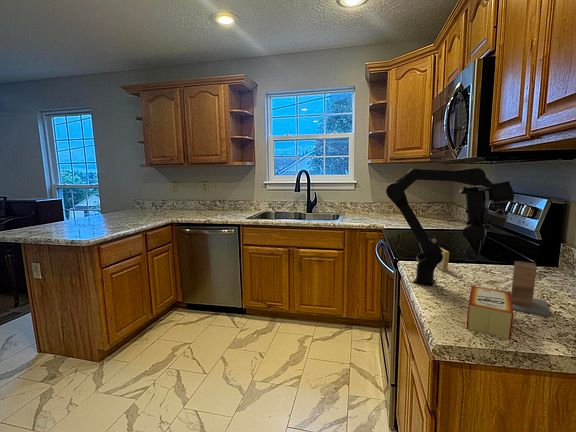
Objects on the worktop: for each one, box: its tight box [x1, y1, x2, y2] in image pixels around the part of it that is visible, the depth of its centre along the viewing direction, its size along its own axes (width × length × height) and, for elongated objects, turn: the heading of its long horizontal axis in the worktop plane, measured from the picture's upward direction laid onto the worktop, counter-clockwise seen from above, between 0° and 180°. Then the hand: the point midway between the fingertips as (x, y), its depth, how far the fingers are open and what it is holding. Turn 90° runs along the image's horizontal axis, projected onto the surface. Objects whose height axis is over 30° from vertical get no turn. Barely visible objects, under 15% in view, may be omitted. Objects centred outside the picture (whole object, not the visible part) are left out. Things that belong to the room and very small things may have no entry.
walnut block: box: [511, 260, 537, 307], centre depth 96 cm, size 5×5×12 cm
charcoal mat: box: [512, 297, 551, 318], centre depth 97 cm, size 12×14×1 cm
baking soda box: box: [466, 285, 515, 340], centre depth 86 cm, size 10×6×16 cm
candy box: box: [436, 247, 450, 273], centre depth 134 cm, size 16×2×8 cm, turn 179°
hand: (479, 249), depth 109 cm, fingers open, 9 cm apart
